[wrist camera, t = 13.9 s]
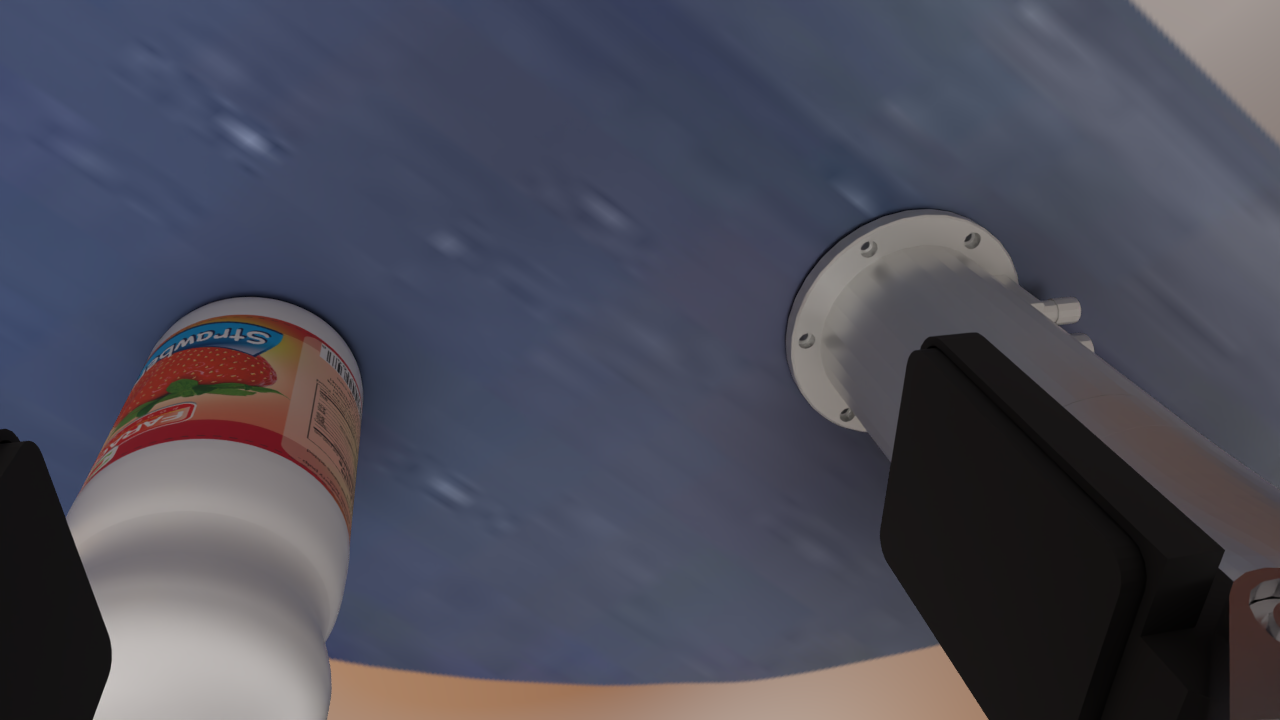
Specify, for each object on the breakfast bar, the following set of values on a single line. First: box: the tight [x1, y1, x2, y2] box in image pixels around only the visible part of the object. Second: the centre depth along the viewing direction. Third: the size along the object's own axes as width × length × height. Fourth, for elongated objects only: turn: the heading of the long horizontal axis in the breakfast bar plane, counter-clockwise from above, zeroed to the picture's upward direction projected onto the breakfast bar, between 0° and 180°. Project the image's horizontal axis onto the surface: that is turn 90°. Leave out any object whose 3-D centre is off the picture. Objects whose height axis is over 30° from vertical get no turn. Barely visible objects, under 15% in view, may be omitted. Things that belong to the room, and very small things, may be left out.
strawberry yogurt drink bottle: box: [66, 297, 363, 720], centre depth 32 cm, size 9×9×28 cm
